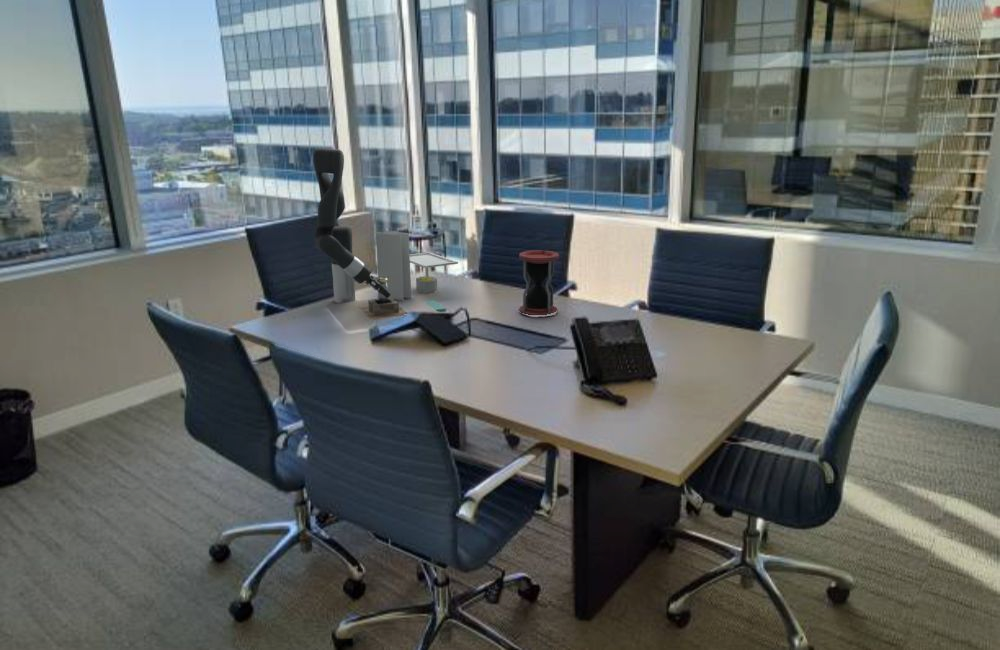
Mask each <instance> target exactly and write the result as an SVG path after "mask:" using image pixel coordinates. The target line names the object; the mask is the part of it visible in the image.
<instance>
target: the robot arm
mask: <svg viewBox="0 0 1000 650" xmlns="http://www.w3.org/2000/svg"><path fill="white" fill-rule="evenodd" d="M312 160H313V167H314V172H315V175H316V179H317V183H318V188H319V197H320V201H319V202H318V203H319V204H318V209H317V225H316V229H315V235H314V246H315V248H316V249H317V250H318V251H320V252H323V253H325V254H326V255H327V256H328V257H329V258H331V261H330V262H331V272H332V284H333V286H332V287H333V288H332V289H333V299H334V300H333V301H334V302H335V303H337V304H343V303H344V304H345V303H352V302H356V289H355V288H356V287H355V286H356V285H355V283H356V282H357V283H358V284H363V283H365V285H367V286H368V287H370V288H372V289H373V290H374V291H377V292H378V291H379V293H381V294H383V295H384V296H385V297H386V298H388V297H389V296H390V293H389V292H387V291H386V290H385V289H384V287H382V286H381V284H380V283H379V282H378V281H377V278H375V277H374V276H373V275H372V269H371V267H369V266H368V265H367V264H366V263H365V262H363V261H362V260H360V259H359V258H358V257H357V256H355V255H354V254H353V232H352V228H351V227H350V225H349V226H348V225H341V226H340V225H339V226H337V225H336V224H337V221H338V220H339V218H340V217H341V215H342V214H343V213H344V211H345V207H346V206H345V205H346V204H345V196H344V193H343V191H342V189H341V184H342V179H343V174H344V166H345V155H344V152H343V151H342V150H341V149H335V148H326V147H325V148H324V147H317V148H316V149H315V150H314V152H313V156H312ZM329 174H333V175H332V176H333V177H332V178H331V177H330V175H329ZM378 287H381V289H380V290H378Z"/></svg>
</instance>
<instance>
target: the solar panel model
mask: <svg viewBox="0 0 1000 650" xmlns="http://www.w3.org/2000/svg"><path fill="white" fill-rule="evenodd" d="M410 264H412V265H416V266H418V267H420V268H423V269H424V270H425V276H417V277H416V278H415V282H416V283H415V285H416V287H415V288H416V292H418V293H421V294H423V293H425V294H427V293H428V294H429V293H431V292H432V293H436V292H438V278H437V277H434V276H429V274H430V273H429V269H430V268H437V267H438V268H439V267H444V266H450V265H451V266H452V265H453V266H454V265H459V262H458V261H457V260H453V259H450V258H447V257H444V256H442V255H438V254H436V253H432V252H430V251H427V252H419V253H411V254H410ZM435 291H436V292H435Z"/></svg>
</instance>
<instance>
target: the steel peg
mask: <svg viewBox="0 0 1000 650" xmlns="http://www.w3.org/2000/svg"><path fill="white" fill-rule="evenodd" d="M376 280H377V281H378V282H379V283H380V284H381V286H382V287H384V289H385V290H386V291H387V292H388V288H387V277H378V276H377V277H376ZM380 289H381V287H378V290H380ZM377 299H378V304H383V303H388V298H386V297H385V296H384V295H383V294H381V293H379V291H377Z"/></svg>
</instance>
